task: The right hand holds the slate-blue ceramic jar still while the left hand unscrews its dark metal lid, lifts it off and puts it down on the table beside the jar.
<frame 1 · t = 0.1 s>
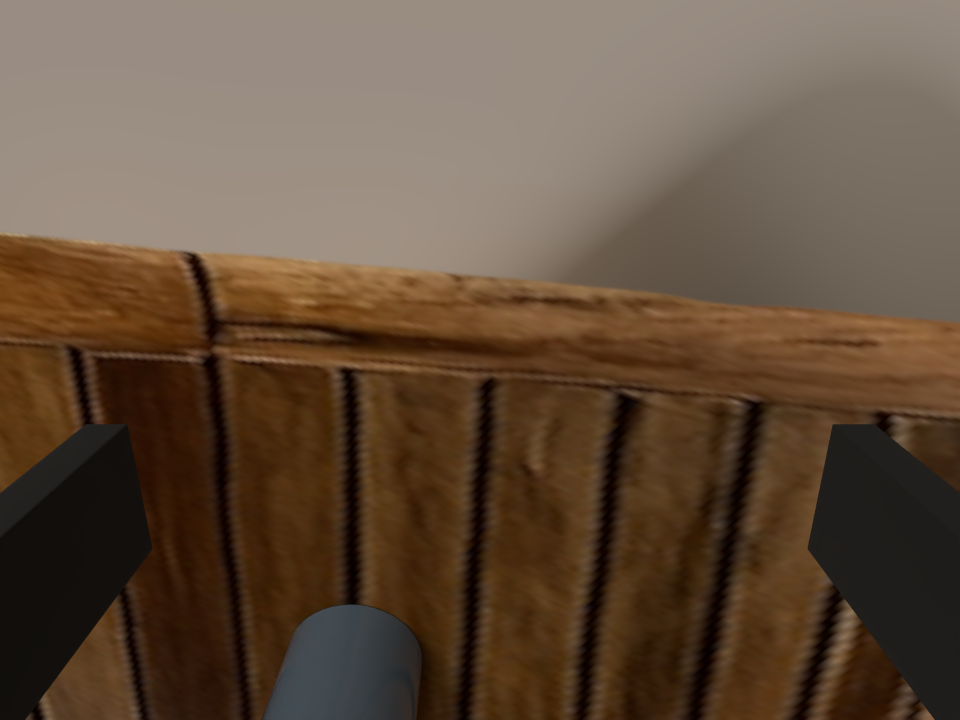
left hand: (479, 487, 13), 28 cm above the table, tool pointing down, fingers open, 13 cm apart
jar: (355, 658, 50), on the table
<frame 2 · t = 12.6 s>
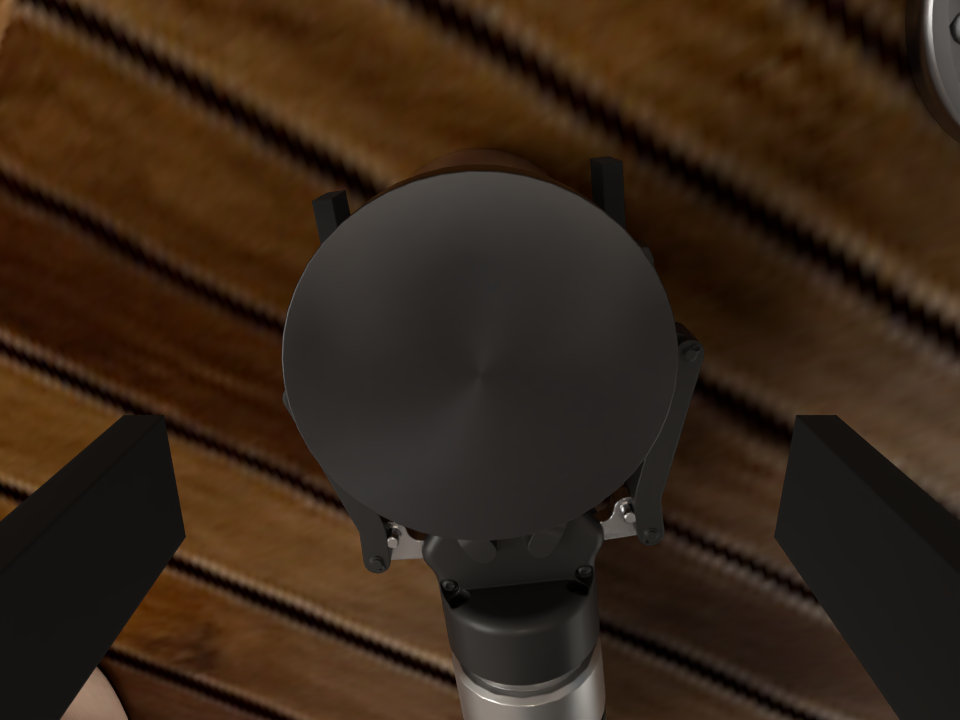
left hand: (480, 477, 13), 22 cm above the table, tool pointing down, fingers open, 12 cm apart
jar: (480, 254, 33), on the table, touching right hand
lid: (479, 370, 19), point 16 cm above the table, screwed on, not yet turned
anatomical model: (42, 706, 44), on the table
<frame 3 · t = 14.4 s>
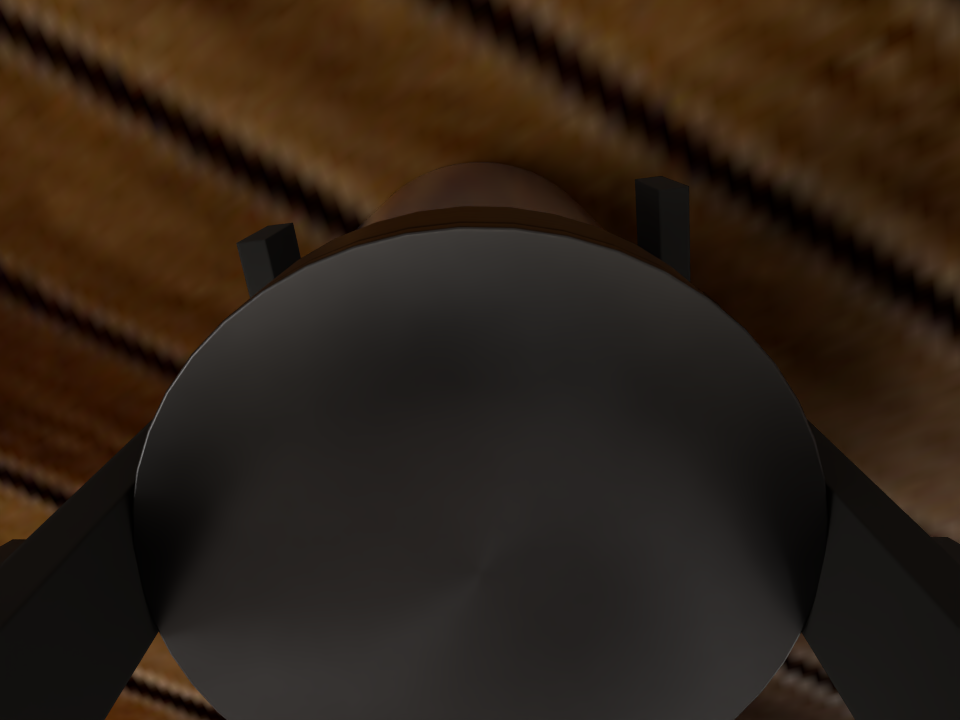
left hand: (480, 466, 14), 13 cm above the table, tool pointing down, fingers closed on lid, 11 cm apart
jar: (480, 298, 26), on the table, touching right hand
lid: (479, 558, 11), point 16 cm above the table, screwed on, not yet turned, touching left hand
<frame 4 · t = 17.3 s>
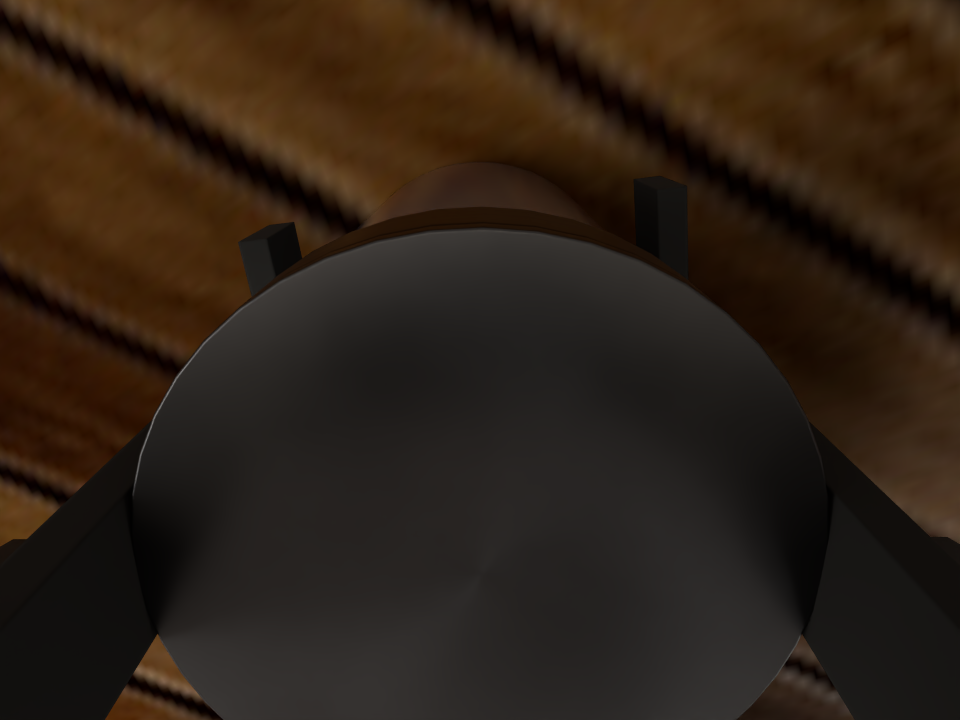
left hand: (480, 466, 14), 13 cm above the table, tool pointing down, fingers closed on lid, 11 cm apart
jar: (479, 297, 26), on the table, touching right hand
lid: (480, 559, 11), point 16 cm above the table, turned 64° so far, risen 0.2 cm, still on its thread, touching left hand
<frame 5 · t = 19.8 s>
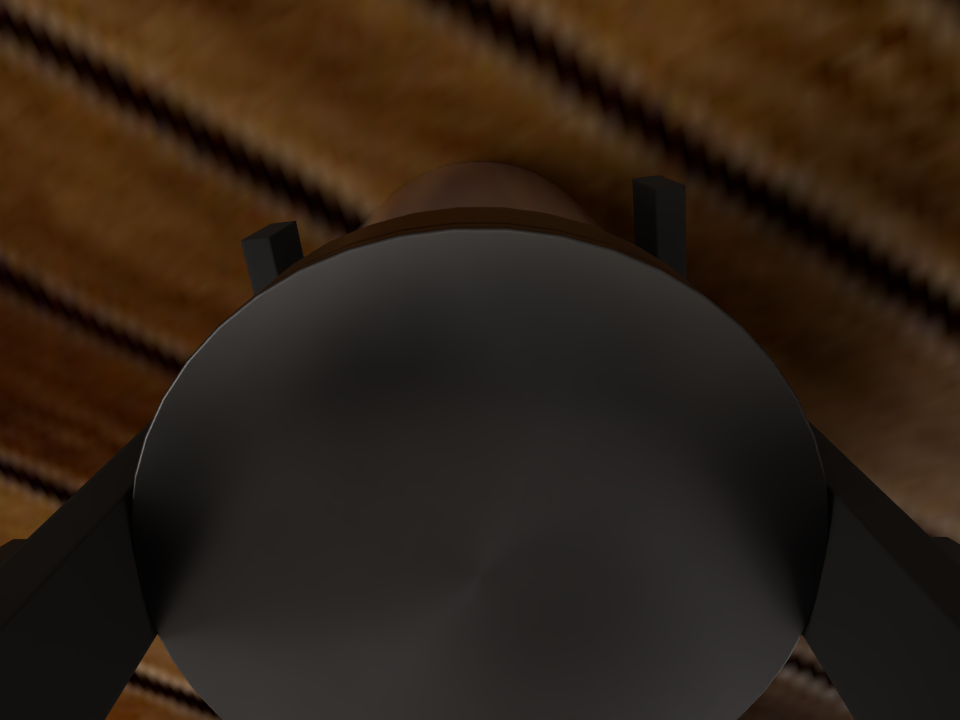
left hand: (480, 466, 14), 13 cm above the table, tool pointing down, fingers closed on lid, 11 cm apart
jar: (480, 296, 26), on the table, touching right hand
lid: (480, 559, 11), point 16 cm above the table, turned 129° so far, risen 0.4 cm, still on its thread, touching left hand
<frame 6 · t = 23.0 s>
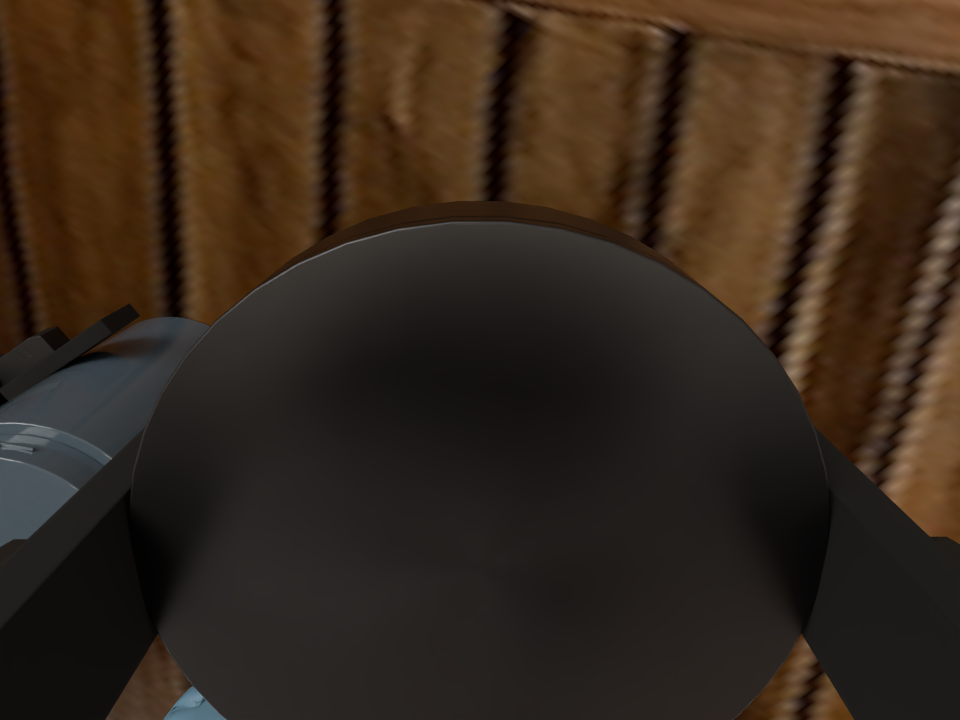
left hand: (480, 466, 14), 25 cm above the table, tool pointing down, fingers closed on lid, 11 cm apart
jar: (182, 396, 40), on the table, touching right hand
lid: (479, 555, 11), point 28 cm above the table, off its thread, touching left hand
when the left hand's fingers open (0 cm above the table, at t = 26.0 s): lid drops 2 cm, point 2 cm above the table.
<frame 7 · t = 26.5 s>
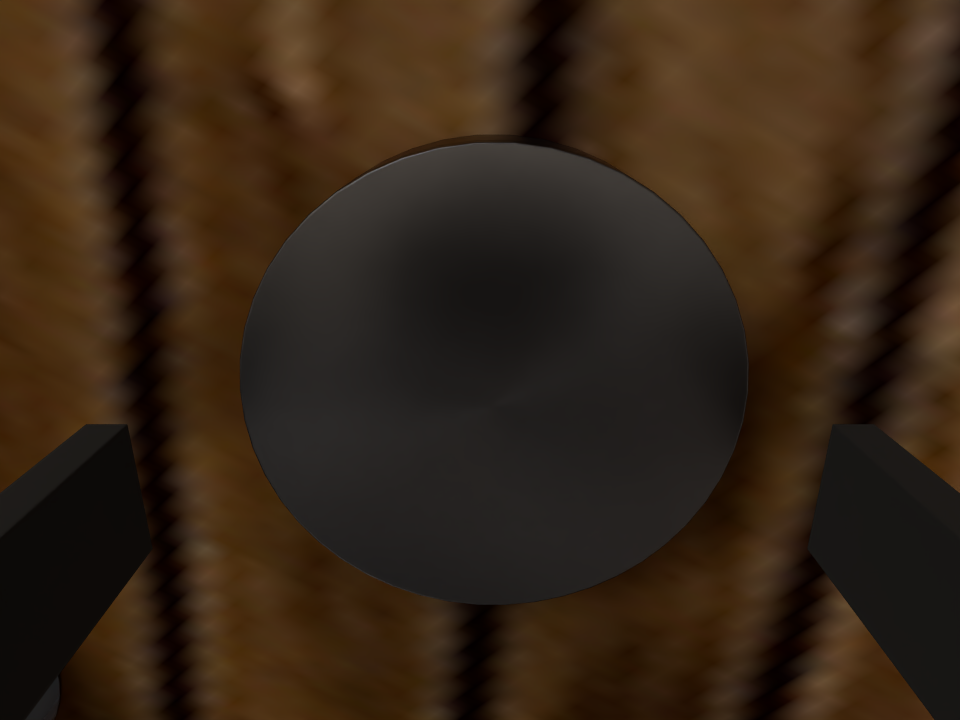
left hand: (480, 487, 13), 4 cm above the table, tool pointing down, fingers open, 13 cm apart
lid: (492, 399, 15), point 2 cm above the table, off its thread
when the right hand's fingers open (6 cm above the table, at t = 27.0 s): jar stays where it is, on the table.
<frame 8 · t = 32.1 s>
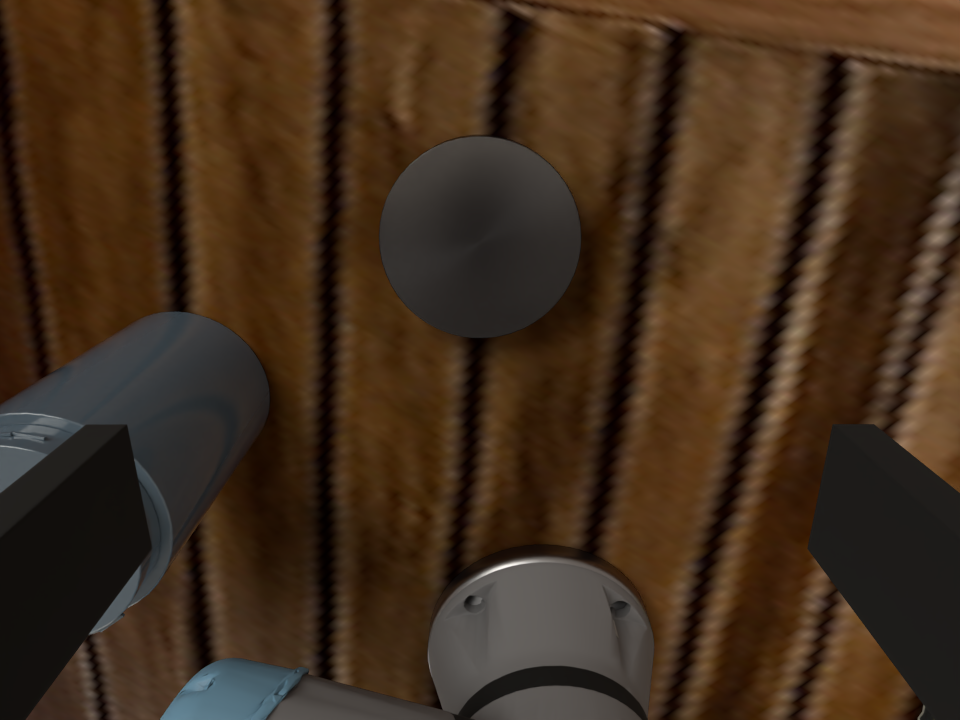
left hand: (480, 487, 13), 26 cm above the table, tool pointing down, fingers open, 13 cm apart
jar: (187, 390, 41), on the table
lid: (480, 241, 36), point 2 cm above the table, off its thread
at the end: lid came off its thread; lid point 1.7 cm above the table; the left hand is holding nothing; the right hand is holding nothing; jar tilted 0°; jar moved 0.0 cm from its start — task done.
